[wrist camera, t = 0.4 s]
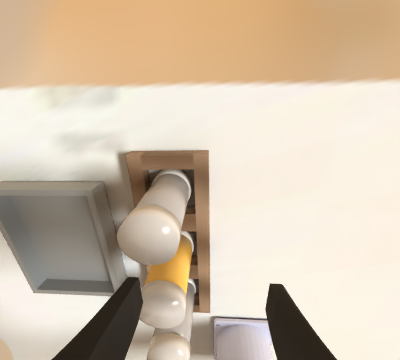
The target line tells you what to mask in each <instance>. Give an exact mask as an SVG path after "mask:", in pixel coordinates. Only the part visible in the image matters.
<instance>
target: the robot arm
mask: <svg viewBox="0 0 400 360" xmlns="http://www.w3.org/2000/svg"><path fill="white" fill-rule="evenodd" d="M142 305H143V299H142V293H141V288H140V283H139V278H136V277H128V278H126V280H125V281H124V282H123V283H122V284H121V286H120V287H119V288H118V289H117V290H116V292H115V293H114V294H113V295H112V296H111V298H110V299H109V300H108V301H107V302H106V304H105V305H104V306H103V307H102V308H101V309H100V310H99V311H98V313H97V314H96V315H95V316H94V317H93V318H92V319H91V320H90V321H89V323H88V324H87V325H86V326H85V327H84V328H83V329H82V330H81V331H80V332H79V333H78V334H77V335H76V336H75V337H74V338H73V339H72V340H71V341H70V342H69V343H68V344H67V345H66V346H65V347H64V348H63V349H62V350H61V351H60V352H59V353H58V354H57V355H56V356H55V357H54V358H53V359H52V360H125V357H126V354H127V352H128V349H129V346H130V343H131V341H132V338H133V335H134V333H135V330H136V327H137V324H138V321H139V317H140V313H141V309H142ZM266 315H267V320H247V319H227V318H216V319H214V359H215V360H274V358H273V354H272V349H271V343H272V342H273V346H274V350H275V353H276V357H277V360H337V359H336V358H335V357H334V355H333V354H332V353H331V352H330V350H329V349H328V348H327V347H326V345H325V344H324V343H323V342H322V340H321V339H320V338H319V336H318V335H317V334H316V332H315V331H314V330H313V328H312V327H311V326H310V324H309V323H308V321H307V320H306V319H305V317H304V316H303V314H302V313H301V312H300V310H299V309H298V307H297V306H296V304H295V303H294V301H293V300H292V298H291V297H290V295H289V294H288V292H287V291H286V289H285V288H284V286H283V285H282V284H270V286H269V292H268V298H267V303H266Z"/></svg>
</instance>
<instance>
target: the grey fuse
mask: <svg viewBox="0 0 400 360" xmlns="http://www.w3.org/2000/svg"><path fill="white" fill-rule="evenodd" d="M196 284H197V280H196V279H188V286H187V293H186V296H187V302H186V310H185V317H184V320H183V321H182V323H181V324H179V325H178V326H176V327H173V328H166V329H162V328H155V332H154V336H153V338H152V340H151V343H150V347H149V351H148V355H147V360H190V350H191V346H190V338H191V328H192V317H193V307H194V296H195V293H196Z"/></svg>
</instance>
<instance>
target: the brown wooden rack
mask: <svg viewBox="0 0 400 360" xmlns="http://www.w3.org/2000/svg"><path fill="white" fill-rule="evenodd" d="M126 160H127V165H128V171H129V176H130V182H131V187H132V193H133V198H134V203H135V207H136V206H137V205H138V203H139V202H140V200H141V199H142V198H143V196H144V195H145V193H146V192H147V191H148V189H149V188H150V186H151V184H150V177H149V170H158V169H194V187H195V206H187V207H186V211H185V215H184V219H183V223H182V227H181V231H196V233H197V255H192V257H191V264H190V271H189V279H198V280H199V294H195V296H194V307H193V312H201V313H210V233H209V150H203V151H132V152H131V153H129V154H128V155H126ZM150 268H151V265H146V269H147V274H148V273H149V271H150Z"/></svg>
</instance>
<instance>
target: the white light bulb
mask: <svg viewBox="0 0 400 360" xmlns="http://www.w3.org/2000/svg"><path fill="white" fill-rule="evenodd" d="M191 191H192V182H191V180H190V178H189V176H188V175H187V174H186V173H185V172H183V171H182V170H180V169H164V170H162V171H161V172H160V173H159V174H158V175H157V176H156V178H155V179H154V180H153V182H152V185H151V186H150V188H149V189H148V191H147V192H146V193H145V195H144V196H143V198H142V199H141V200H140V202H139V203H138V205H137V206H136V207H135V209H133V210H132V211H131V212H130V213H129V214H128V216H127V217H126V219H125V220H124V221H123V223H122V224H121V225H120V227H119V229H118V232H117V241H118V244H119V246H120V248H121V250H122V251H123V252H124V253H125V254H126V255H127V256H128V257H129V258H131V259H132V260H134V261H136V262H139V263H142V264H146V265H159V264H163V263H166V262H168V261H169V260H171V259H172V258H173V257H174V256H175V254H176V252H177V250H178V246H179V242H180V238H181V227H182V223H183V219H184V215H185V211H186V207H187V203H188V200H189V198H190V195H191Z"/></svg>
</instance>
